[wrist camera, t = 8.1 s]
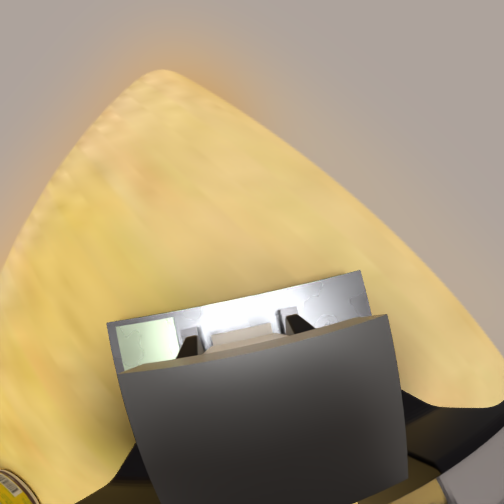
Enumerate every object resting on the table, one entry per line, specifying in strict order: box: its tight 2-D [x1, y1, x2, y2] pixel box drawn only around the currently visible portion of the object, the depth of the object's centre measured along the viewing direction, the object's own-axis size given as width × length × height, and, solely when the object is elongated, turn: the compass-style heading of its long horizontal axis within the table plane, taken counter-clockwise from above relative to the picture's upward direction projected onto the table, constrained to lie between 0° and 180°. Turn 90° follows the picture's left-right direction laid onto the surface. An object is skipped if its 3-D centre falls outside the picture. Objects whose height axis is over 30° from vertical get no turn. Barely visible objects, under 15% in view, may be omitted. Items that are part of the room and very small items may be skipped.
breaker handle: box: [117, 314, 408, 504], centre depth 8 cm, size 3×4×11 cm
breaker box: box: [107, 270, 372, 374], centre depth 13 cm, size 14×14×3 cm
